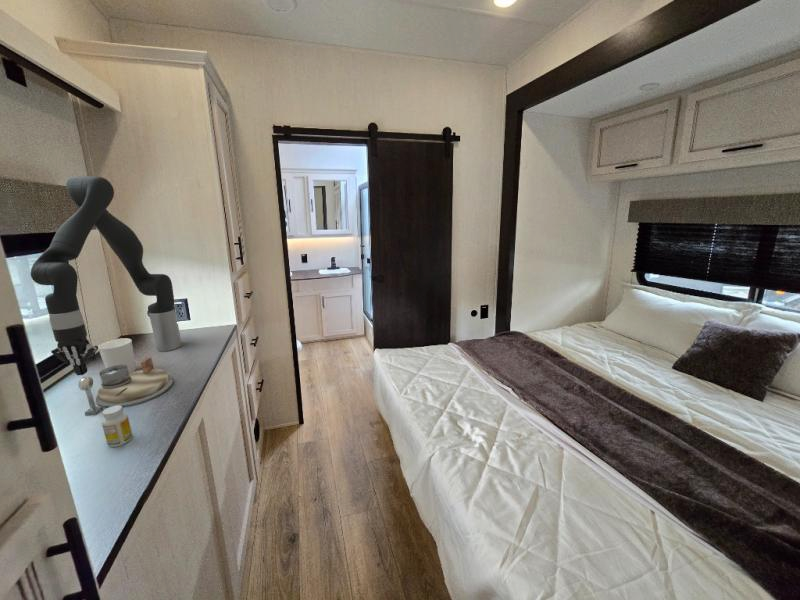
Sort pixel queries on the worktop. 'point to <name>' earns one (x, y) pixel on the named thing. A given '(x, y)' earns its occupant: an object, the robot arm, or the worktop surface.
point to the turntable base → (137, 401)
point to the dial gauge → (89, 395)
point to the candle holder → (118, 353)
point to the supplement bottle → (116, 426)
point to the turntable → (137, 384)
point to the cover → (115, 377)
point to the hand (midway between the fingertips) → (81, 374)
